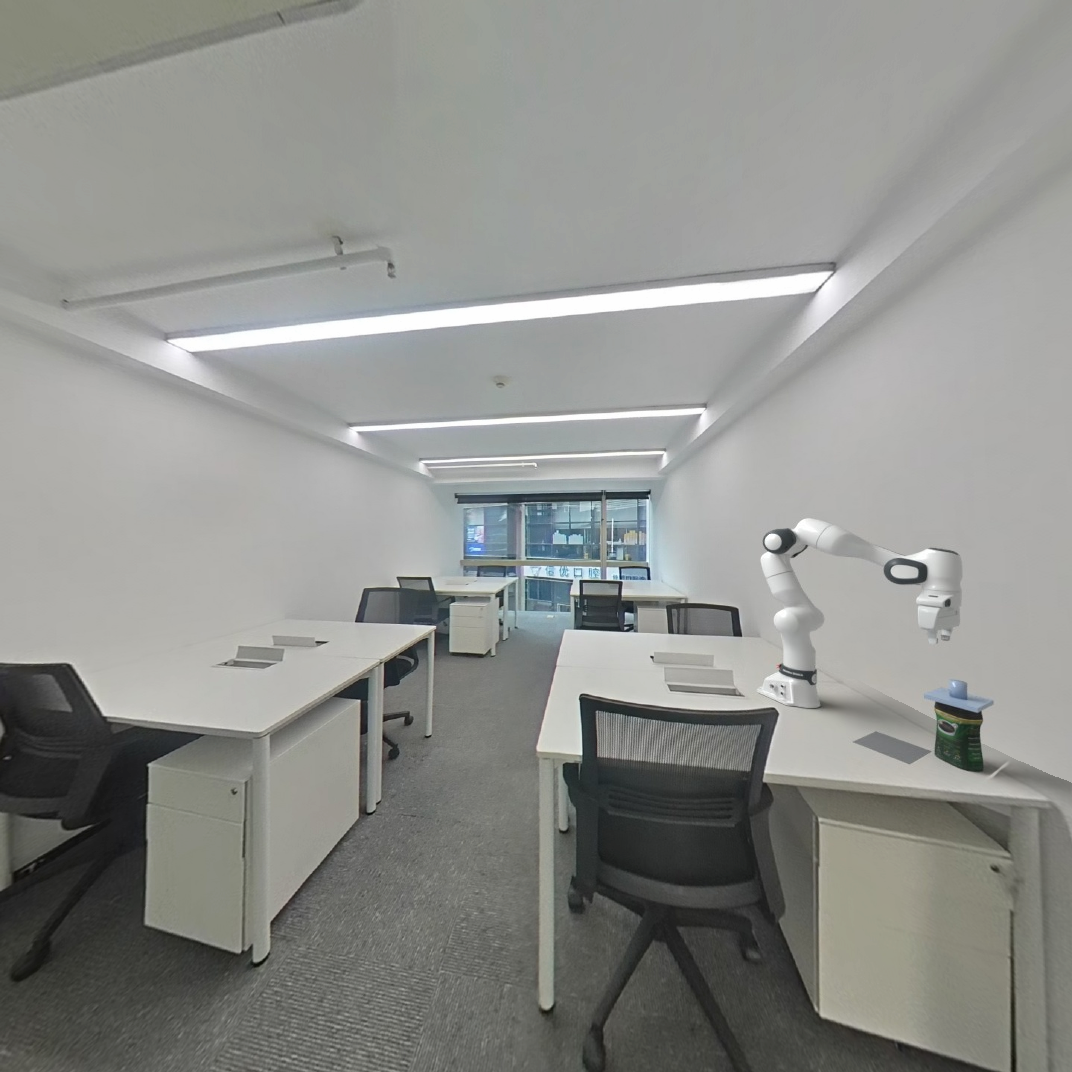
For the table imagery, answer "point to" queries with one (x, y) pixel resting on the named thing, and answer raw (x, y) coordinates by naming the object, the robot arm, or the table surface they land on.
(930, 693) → the lid
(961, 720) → the coffee jar
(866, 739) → the mat
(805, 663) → the robot arm
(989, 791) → the table surface
